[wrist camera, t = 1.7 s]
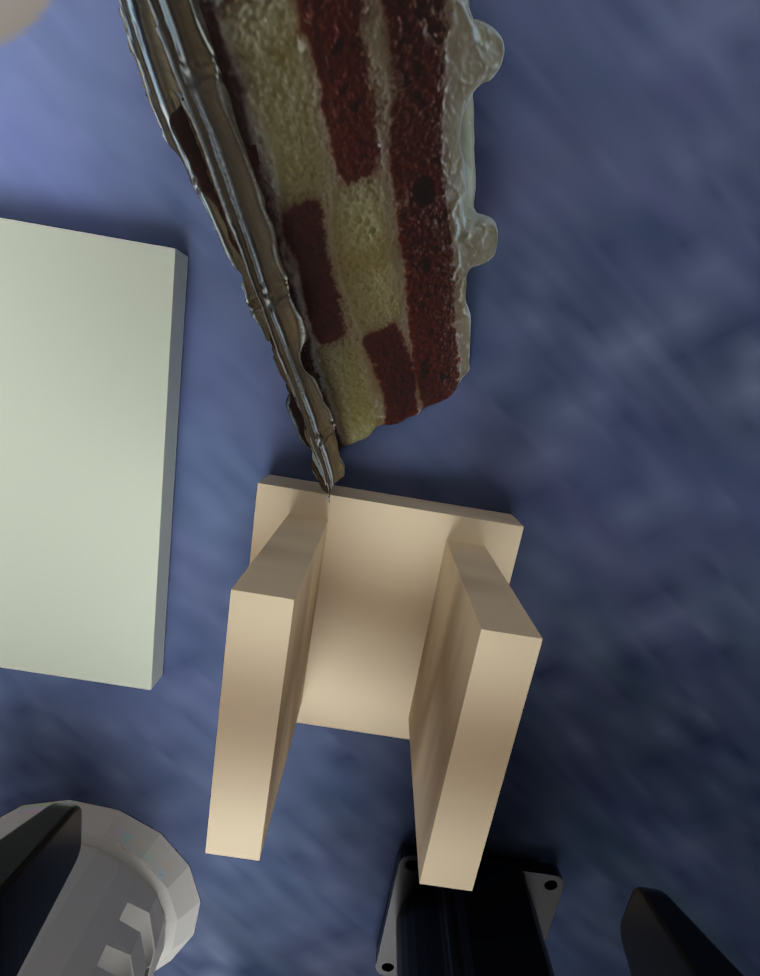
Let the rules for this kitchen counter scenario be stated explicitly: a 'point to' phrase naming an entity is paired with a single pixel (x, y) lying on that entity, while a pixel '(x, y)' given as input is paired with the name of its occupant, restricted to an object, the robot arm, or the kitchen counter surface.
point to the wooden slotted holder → (375, 658)
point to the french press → (113, 900)
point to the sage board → (87, 450)
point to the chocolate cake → (334, 187)
